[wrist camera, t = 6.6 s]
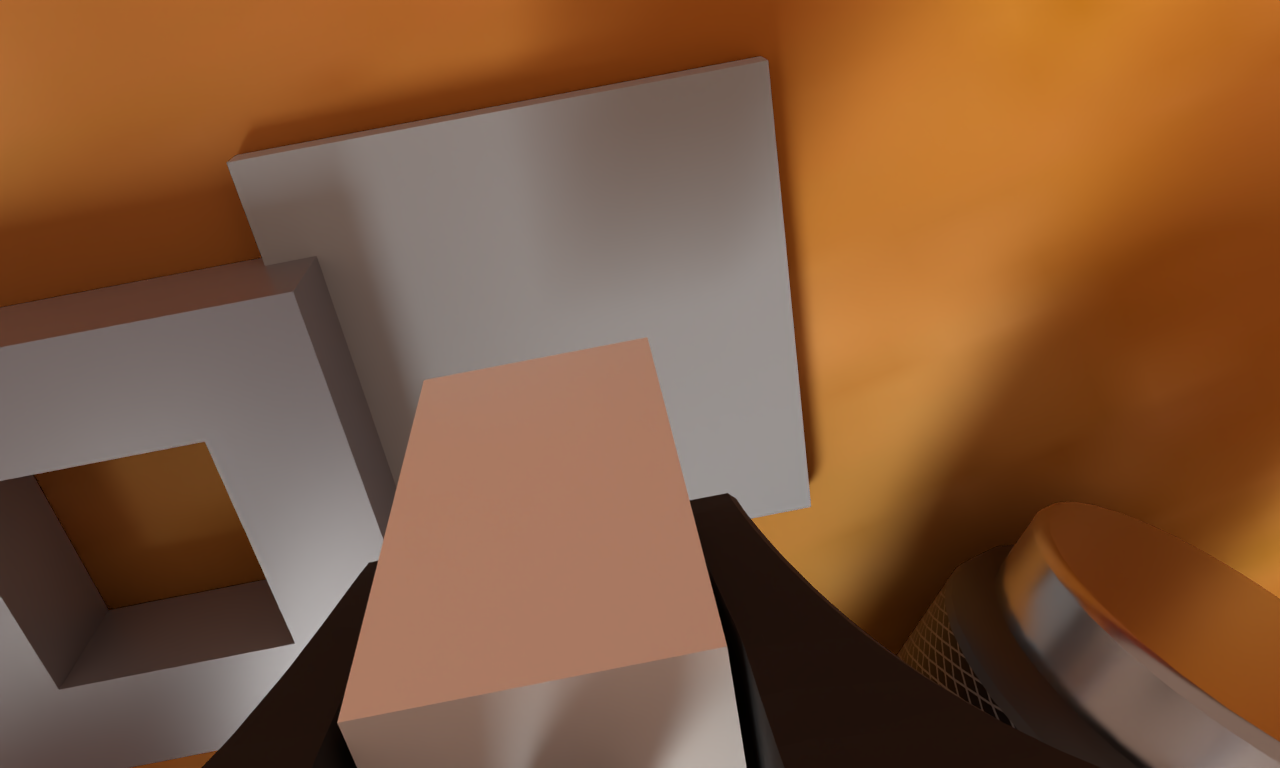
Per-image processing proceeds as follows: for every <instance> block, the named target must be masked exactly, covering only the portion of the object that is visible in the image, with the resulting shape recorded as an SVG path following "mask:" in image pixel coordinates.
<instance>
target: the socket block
mask: <svg viewBox="0 0 1280 768" xmlns="http://www.w3.org/2000/svg"><path fill="white" fill-rule="evenodd" d="M200 442H205V443H206V445H207V448H208V450H209V452H210V454H211V457H212V459H213V461H214V463H215V466H216V468H217V470H218V472H219V474H220V477H221V479H222V481H223V483H224V486H225V488H226V490H227V492H228V495H229V497H230V499H231V501H232V504H233V506H234V508H235V510H236V512H237V515H238V517H239V519H240V521H241V524H242V526H243V528H244V530H245V533H246V535H247V537H248V539H249V541H250V544H251V546H252V548H253V550H254V553H255V555H256V557H257V559H258V562H259V564H260V566H261V568H262V571H263V573H264V575H265V577H266V580H261V581H256V582H251V583H246V584H241V585H235V586H230V587H225V588H220V589H215V590H210V591H205V592H200V593H194V594H189V595H184V596H179V597H174V598H169V599H164V600H158V601H153V602H148V603H143V604H138V605H133V606H128V607H122V608H117V609H112V610H108V608H107V606H106V605H105V603H104V601H103V599H102V598H101V596H100V594H99V592H98V590H97V589H96V587H95V585H94V583H93V581H92V580H91V578H90V576H89V574H88V572H87V571H86V569H85V567H84V565H83V564H82V562H81V560H80V558H79V556H78V555H77V553H76V551H75V549H74V547H73V546H72V544H71V542H70V540H69V538H68V537H67V535H66V533H65V531H64V530H63V528H62V526H61V524H60V522H59V521H58V519H57V517H56V515H55V513H54V512H53V510H52V508H51V506H50V505H49V503H48V501H47V499H46V497H45V496H44V494H43V492H42V490H41V488H40V487H39V485H38V483H37V481H36V479H35V478H34V476H33V475H34V474H39V473H44V472H50V471H55V470H60V469H65V468H70V467H76V466H81V465H86V464H91V463H96V462H102V461H107V460H112V459H117V458H122V457H127V456H133V455H138V454H143V453H148V452H153V451H159V450H164V449H169V448H174V447H179V446H185V445H190V444H195V443H200ZM395 492H396V485H395V482H394V479H393V476H392V473H391V470H390V467H389V465H388V462H387V459H386V456H385V453H384V450H383V447H382V444H381V441H380V438H379V436H378V433H377V430H376V427H375V424H374V421H373V418H372V415H371V412H370V409H369V406H368V404H367V401H366V398H365V395H364V392H363V389H362V386H361V383H360V380H359V377H358V375H357V372H356V369H355V366H354V363H353V360H352V357H351V354H350V351H349V348H348V346H347V343H346V340H345V337H344V334H343V331H342V328H341V325H340V322H339V319H338V317H337V314H336V311H335V308H334V305H333V302H332V299H331V296H330V293H329V290H328V287H327V285H326V282H325V279H324V276H323V273H322V270H321V267H320V264H319V261H318V258H317V256H314V257H309V258H303V259H298V260H293V261H288V262H282V263H277V264H272V265H266V266H265V265H264V262H263V259H262V258H258V259H253V260H248V261H242V262H237V263H232V264H226V265H221V266H216V267H211V268H205V269H200V270H195V271H190V272H184V273H179V274H174V275H169V276H163V277H158V278H153V279H148V280H142V281H137V282H132V283H127V284H121V285H116V286H111V287H106V288H100V289H95V290H90V291H85V292H79V293H74V294H69V295H64V296H58V297H53V298H48V299H43V300H37V301H32V302H27V303H21V304H16V305H11V306H6V307H0V768H130V767H136V766H141V765H146V764H151V763H156V762H161V761H166V760H171V759H176V758H181V757H186V756H191V755H196V754H202V753H207V752H212V751H217V750H219V749H220V748H221V747H222V746H223V745H224V744H225V742H226V741H227V740H228V739H229V738H230V737H231V736H232V735H233V734H234V733H235V731H236V730H237V729H238V728H239V727H240V726H241V724H242V723H243V722H244V721H245V720H246V718H247V717H248V716H249V715H250V714H251V713H252V711H253V710H254V709H255V708H256V707H257V705H258V704H259V703H260V702H261V701H262V700H263V698H264V697H265V696H266V695H267V694H268V692H269V691H270V690H271V689H272V688H273V687H274V685H275V684H276V683H277V682H278V681H279V679H280V678H281V677H282V676H283V675H284V674H285V672H286V671H287V670H288V669H289V667H290V666H291V665H292V663H293V662H294V661H295V659H296V658H297V657H298V656H299V654H300V653H301V652H302V650H303V649H304V648H305V646H306V645H307V644H308V643H309V641H310V640H311V639H312V637H313V636H314V635H315V633H316V632H317V631H318V629H319V628H320V627H321V625H322V624H323V623H324V621H325V620H326V619H327V617H328V616H329V615H330V613H331V612H332V611H333V609H334V608H335V607H336V605H337V604H338V603H339V601H340V600H341V599H342V597H343V596H344V595H345V593H346V592H347V590H348V589H349V588H350V586H351V585H352V584H353V582H354V581H355V580H356V578H357V577H358V576H359V574H360V573H361V572H362V571H363V569H364V568H365V567H366V565H367V564H368V563H369V562H374V561H378V560H379V556H380V552H381V548H382V544H383V540H384V536H385V532H386V528H387V524H388V520H389V516H390V512H391V508H392V504H393V500H394V496H395Z"/></svg>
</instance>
